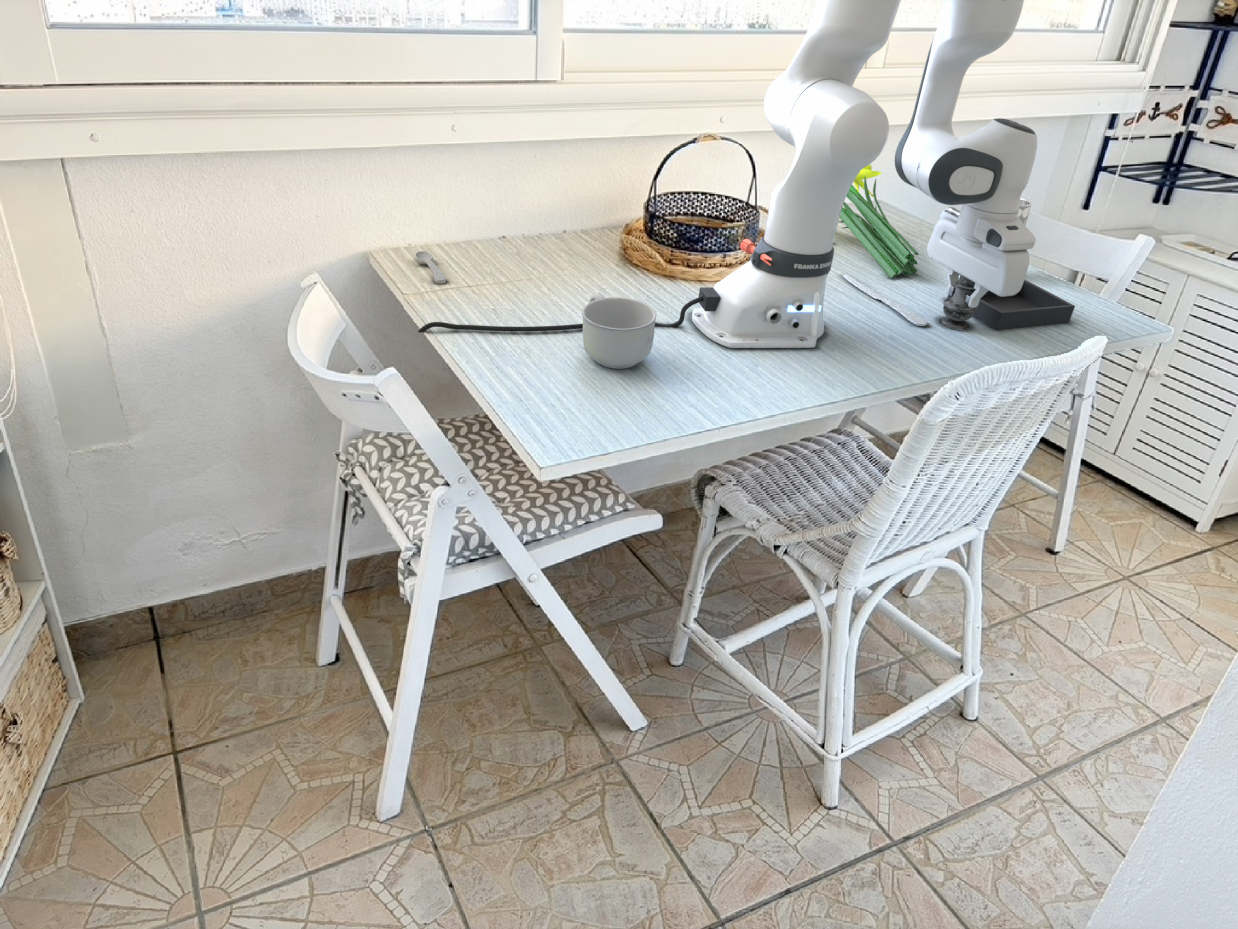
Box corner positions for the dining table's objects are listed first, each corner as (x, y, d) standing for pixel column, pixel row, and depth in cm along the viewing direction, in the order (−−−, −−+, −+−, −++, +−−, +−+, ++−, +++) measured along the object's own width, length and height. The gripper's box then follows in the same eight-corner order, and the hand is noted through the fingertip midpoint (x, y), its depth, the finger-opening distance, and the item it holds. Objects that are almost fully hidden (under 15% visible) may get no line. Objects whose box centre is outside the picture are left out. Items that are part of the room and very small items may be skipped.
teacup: (660, 374, 136) (666, 324, 131) (589, 378, 132) (593, 327, 128) (632, 334, 147) (637, 286, 142) (566, 337, 144) (569, 288, 139)
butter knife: (917, 324, 159) (930, 323, 160) (837, 273, 177) (850, 272, 178) (916, 327, 159) (930, 325, 161) (837, 275, 177) (849, 274, 179)
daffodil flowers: (856, 284, 177) (777, 184, 198) (892, 312, 187) (813, 213, 208) (925, 219, 170) (835, 122, 191) (959, 251, 180) (870, 155, 201)
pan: (995, 330, 162) (1001, 312, 160) (946, 300, 172) (951, 283, 170) (1069, 322, 168) (1075, 305, 167) (1017, 293, 178) (1022, 278, 177)
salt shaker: (973, 333, 160) (994, 267, 153) (938, 327, 161) (958, 261, 154) (969, 320, 165) (989, 256, 158) (935, 314, 165) (955, 250, 159)
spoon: (428, 257, 166) (428, 246, 165) (449, 286, 158) (449, 275, 157) (412, 258, 165) (412, 248, 164) (433, 288, 157) (433, 277, 156)
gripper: (930, 203, 159) (909, 279, 167) (1013, 244, 144) (987, 325, 151) (959, 202, 162) (937, 276, 169) (1043, 242, 146) (1016, 322, 154)
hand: (961, 300), depth 160 cm, fingers closed on salt shaker, 3 cm apart
